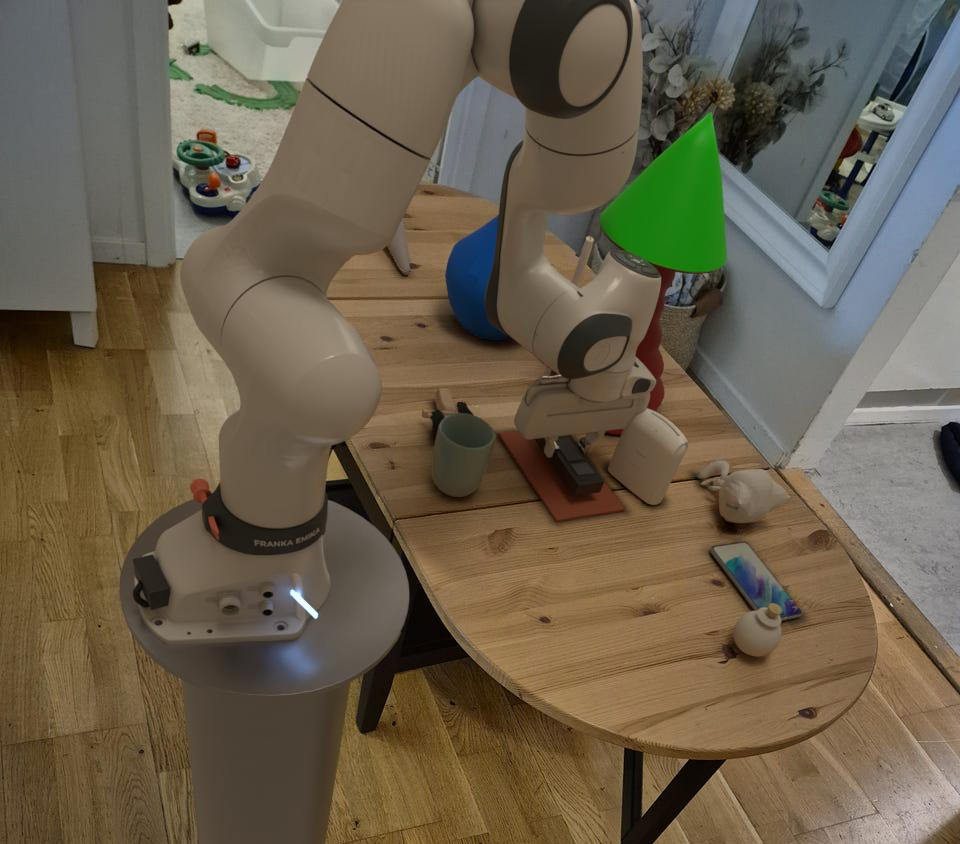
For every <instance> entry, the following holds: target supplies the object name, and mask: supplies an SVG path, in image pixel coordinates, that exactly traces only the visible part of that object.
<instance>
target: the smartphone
mask: <svg viewBox="0 0 960 844" xmlns="http://www.w3.org/2000/svg"><path fill="white" fill-rule="evenodd" d="M709 553H710V554H711V555H712V556H713V558H714V559H715V561H716V562H717V563H718V564H719V566H720V567H721V569H722V570H723V571H724V573H726V575H727V576H728V578H729V579H730V580H731V581H732V583H733V584H734V585H735V587H736V589H738V591H739V592H740V594H741V596H742V597H743V598H744V599H745V600H746V602H747V603H748V604H749V605H750V607H751V608H752V610H753V611H758V609H760V608H762V607H766V608H768V607H769V604H771V603H775V604H777V605H779V606H780V607H781V608H782V613H780V614H779V616H780V618H781V622H784V621H789V620H793V619H797V618H798V619H799V618H800V617H801V616H802V615H803V610H802V609H801V607H800V608H797V609H796V608H792V607H795V606H798V604H797V603H796V601H793V602H792V601H790V600H793V599H794V598H792V597H791V595H790V594H789V593H788V591H787V590H786V589H785V588H784V587H783V586H782V584H781V583H780V582H779V580H778V579H777V578H776V576H774V573H772V572H771V570H770V569H769V568H768V566H766V564H765V563H764V561H763V560H762V559H761V558H760V557H759V555H758V554H757V553H756V552H755V550H754V549H753V548H752V546H750V544H749V543H748V542H747V541H736V542H729V543H724V544H716V545H712V546H711V547H710V548H709ZM791 602H792V603H791ZM795 609H796V610H795ZM786 616H787V617H786ZM785 617H786V619H785V620H784V619H782V618H785Z"/></svg>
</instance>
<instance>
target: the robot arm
mask: <svg viewBox="0 0 960 844" xmlns="http://www.w3.org/2000/svg"><path fill="white" fill-rule="evenodd" d="M642 34H643V33H642V21H641V15H640V11H639V7H638V5H637V4H636V2H635V0H342V1H341V3H340V4H339V6H338V8H337V10H336V12H335V14H334V16H333V17H332V20H331V22H330V24H329V25H328V28H327V29H326V31H325V34H324V35H323V37H322V40H321V42H320V44H319V46H318V49H317V51H316V53H315V55H314V58H313V60H312V62H311V65H310V67H309V70H308V72H307V74H306V78H305V80H304V82H303V85H302V88H301V89H300V93H299V95H298V98H297V100H296V104H295V106H294V108H293V111H292V114H291V116H290V118H289V121H288V123H287V125H286V128H285V130H284V133H283V136H282V138H281V141H280V143H279V145H278V148H277V150H276V152H275V155H274V157H273V160H272V162H271V164H270V166H269V168H268V170H267V172H266V173H265V175H264V177H263V179H262V181H261V182H260V184H259V185H258V187H257V188H256V190H255V192H254V193H253V194H252V196H251V197H250V198H249V199H248V201H247V202H246V203H245V205H244V206H243V207H242V208H241V210H239V212H238V213H237V214H236V215H235V216H234V217H233V218H232V219H231V220H230V221H229V222H228V223H226V224H222V225H218V226H216V227H212V228H210V229H208V230H206V231H204V232H203V233H201V234H200V235H199V236H198V237H197V238H195V239H194V241H193V242H192V243H191V244H190V246H189V247H188V248H187V250H186V252H185V254H184V256H183V258H182V262H181V265H180V272H179V273H180V274H179V279H180V286H181V290H182V293H183V295H184V298H185V301H186V304H187V306H188V309H189V311H190V313H191V316H192V318H193V320H194V323H195V325H196V327H197V328H198V330H199V331H200V333H201V334H202V335H203V336H204V338H205V339H206V341H208V343H209V344H210V345H211V347H212V348H213V350H215V352H216V353H217V354H218V356H219V357H220V358H221V359H222V361H223V362H224V364H225V365H226V368H227V369H228V370H229V372H230V373H231V375H232V378H233V380H234V383H235V385H236V387H237V391H238V395H239V401H240V402H239V403H240V406H239V409H238V410H236V411H234V412H233V413H232V414H231V415H229V416H228V417H227V418H226V419H225V420H224V422H223V423H222V425H221V427H220V430H219V432H218V456H219V457H218V459H219V482H218V484H217V486H216V488H215V490H214V491H211V489H210V484H209V482H208V481H207V480H206V479H205V478H196V479H194V480H192V482H190V484H189V485H190V486H189V489H190V492H191V493H192V498H193V499H194V500H195V501H196V502H198V503H202V510H200V511H198V512H197V513H195V514H193V515H192V516H190V517H188V518H187V519H185V520H183V521H182V522H180V523H178V524H176V525H175V526H173V527H171V528H169V529H167V530H166V531H164V532H163V533H162V535H161V536H160V538H159V539H158V542H157V545H156V548H155V551H154V552H150V553H147V554H145V555H143V556H142V557H139V558H135V559H133V565H134V571H135V576H134V590H133V598H134V600H135V601H136V602H137V605H138V608H139V611H140V614H141V617H142V619H143V621H144V623H145V624H146V626H147V628H148V629H149V630H150V632H151V633H152V634H153V635H154V636H155V637H156V638H157V639H159V640H160V641H161V642H163V643H164V644H167V645H191V644H212V643H232V642H253V641H274V640H292V639H296V638H298V637H299V636H300V635H301V634H302V632H303V630H304V628H305V625H306V622H307V620H308V619H309V618H310V617H311V616H313V617H314V618H317V617H318V613H317V612H316V611H318V610H319V609H320V608H321V606H322V605H323V604H324V602H325V601H326V599H327V597H328V595H329V591H330V576H329V573H328V570H327V567H326V563H325V558H324V550H323V535H324V534H325V531H326V523H327V520H328V500H329V496H328V493H327V492H326V486H327V477H328V469H329V462H330V461H329V460H330V453H331V448H332V446H335V445H339V444H342V443H343V442H346V441H348V440H350V439H351V438H353V437H354V436H356V435H357V434H359V433H360V432H361V431H362V430H363V429H364V428H365V427H366V426H367V424H368V423H369V422H370V421H371V419H373V416H374V415H375V414H376V411H377V409H378V406H379V404H380V401H381V398H382V391H383V382H382V377H381V373H380V371H379V368H378V366H377V365H376V362H375V360H374V358H373V356H372V354H371V352H370V351H369V349H368V347H367V345H366V343H365V341H364V339H363V338H362V336H361V335H360V333H359V331H358V330H357V328H356V327H354V325H353V324H352V323H351V322H350V321H349V320H348V319H347V318H346V317H345V315H343V313H342V312H341V311H340V310H339V309H338V308H337V307H336V306H335V305H334V304H333V303H332V302H331V301H330V300H329V298H328V297H327V294H328V289H329V287H330V284H331V282H332V280H333V279H334V278H335V276H336V275H337V274H338V272H339V271H341V269H342V268H343V267H344V266H345V264H346V263H348V262H349V261H350V260H351V259H352V258H353V257H355V256H366V255H367V256H368V255H372V254H373V255H374V254H376V253H378V252H380V251H383V250H384V249H385V248H387V247H386V246H387V245H388V244H389V243H390V242H391V241H392V239H393V238H394V236H395V233H396V231H397V229H398V227H399V225H400V223H401V221H402V219H403V220H404V217H405V215H406V212H407V211H408V208H409V206H410V204H411V202H412V200H413V198H414V196H415V194H416V193H417V190H418V188H419V186H420V183H421V181H422V180H423V177H424V175H425V174H426V171H427V169H428V167H429V165H430V163H431V161H432V158H433V156H434V154H435V152H436V150H437V148H438V145H439V143H440V142H441V139H442V137H443V134H444V131H445V129H446V127H447V124H448V122H449V119H450V117H451V114H452V112H453V109H454V105H455V102H456V100H457V98H458V96H459V95H461V92H462V91H463V90H464V89H465V88H466V87H468V85H470V84H471V83H472V81H474V80H475V79H477V78H478V77H479V78H480V79H482V80H483V81H485V82H486V83H487V84H489V85H490V86H492V87H494V88H496V89H497V90H500V92H503V93H504V94H506V95H508V96H511V97H512V98H514V99H515V100H518V101H519V102H520V103H521V105H522V106H524V136H523V139H522V140H521V141H520V142H519V143H518V144H517V145H516V146H515V147H514V148H513V150H512V151H511V153H510V155H509V157H508V160H507V163H506V166H505V168H504V172H503V173H504V174H503V176H502V177H503V178H502V184H501V191H500V198H499V208H498V215H499V216H498V215H497V216H498V226H497V236H496V245H495V255H494V262H493V268H492V271H491V274H490V277H489V280H488V284H487V287H486V293H485V310H486V315H487V318H488V320H489V322H490V323H491V324H492V325H493V326H494V327H495V328H497V329H498V330H500V331H501V332H503V333H504V334H506V335H507V336H509V337H511V338H510V339H513V340H514V341H516V343H518V344H519V345H520V346H522V347H523V348H524V349H525V350H526V351H528V352H529V353H530V354H531V355H532V356H534V357H535V358H537V359H538V360H540V361H541V362H542V363H543V364H545V365H546V366H547V367H548V368H550V370H552V371H555V372H556V373H558V374H559V375H554V376H550V375H541V376H539V377H538V379H535V380H534V381H532V382H531V383H529V384H528V385H527V387H526V389H525V392H524V395H523V396H522V399H521V401H520V403H519V406H518V408H517V410H516V412H515V416H514V419H513V423H514V426H515V428H516V430H517V431H519V432H520V434H521V435H522V436H523V437H524V438H525V439H527V440H529V439H538V438H545V441H546V445H545V448H544V453H545V454H546V456H547V457H548V458H550V457H556V456H558V452H559V451H560V447H559V446H558V445H557V443H556V442H555V441H556V440H558V437H559V436H564V435H571V436H572V435H583V434H586V435H585V436H584V437H583V436H582V437H580V438H579V440H578V443H577V444H578V446H579V447H580V449H581V450H582V451H583V453H584V454H588V453H590V454H591V452H592V450H593V448H594V445H596V444H597V442H599V441H600V440H601V439H602V438H603V437H604V436H605V434H606V433H605V431H608V430H617V429H626V428H628V426H629V424H630V422H631V421H632V419H633V418H634V417H635V416H636V415H638V414H641V413H643V412H644V411H646V408H647V406H648V403H649V400H650V392H651V391H652V390H653V388H654V387H655V385H656V379H655V378H654V376H653V375H652V374H651V372H650V371H649V370H648V369H647V367H646V366H645V365H644V364H643V363H642V362H641V361H640V360H639V359H638V358H637V357H636V350H637V347H638V345H639V344H640V343H641V341H642V340H643V339H644V337H645V335H646V333H647V330H648V328H649V325H650V322H651V320H652V317H653V314H654V311H655V308H656V304H657V301H658V297H659V293H660V287H661V275H660V273H659V272H658V270H657V269H656V268H655V267H654V266H653V265H652V264H650V263H649V262H647V261H646V260H645V259H643V258H641V257H640V256H637V255H635V254H633V253H631V252H628V251H624V250H621V249H612V250H610V251H608V253H607V254H606V255H605V257H604V259H603V260H602V262H601V265H600V267H599V268H598V271H597V273H596V275H595V277H594V278H593V279H591V281H589V282H588V283H587V284H585V285H583V286H582V287H581V286H580V287H581V288H579V287H577V286H576V285H575V284H573V283H572V280H570V279H568V278H567V277H566V276H564V275H562V274H561V273H560V272H559V271H558V270H557V269H556V268H555V267H554V266H553V265H552V264H551V262H550V261H549V259H548V258H547V256H546V255H545V252H544V244H545V238H546V233H547V226H548V222H549V216H550V214H552V215H555V216H562V217H563V216H568V217H569V216H575V215H581V214H585V213H588V212H591V211H594V210H596V209H599V208H600V207H602V206H604V205H605V204H606V203H608V202H610V201H611V200H612V199H613V198H615V196H616V195H617V194H618V193H619V192H620V191H621V190H622V188H623V187H624V186H625V184H627V181H628V180H629V177H630V175H631V172H632V169H633V166H634V163H635V159H636V154H637V148H638V141H639V132H640V122H641V112H642V103H643V87H644V86H643V84H644V81H643V80H644V55H643V51H644V50H643V35H642ZM554 440H555V441H554ZM157 624H162V625H160V626H157ZM278 629H283V630H282V631H280V630H278Z"/></svg>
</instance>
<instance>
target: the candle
mask: <svg viewBox="0 0 960 844" xmlns="http://www.w3.org/2000/svg"><path fill="white" fill-rule="evenodd" d="M594 241H595V239H594V237H592V236H591V235H588V236H586V237H585V240H584V243H583V245H582V248H581V252H580V254H579V257H578V261H577V264H576V266H575V271H574V273H573V277H572V280H571V282H572V283H573V284H575V285H576V286H577V287H579V288H581V285H582V282H583V279H584V278H583V277H584V274H585V272H586V268H587V265H588V262H589V258H590V255H591V252H592V250H593V246H594Z"/></svg>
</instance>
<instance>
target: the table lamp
mask: <svg viewBox="0 0 960 844" xmlns="http://www.w3.org/2000/svg"><path fill="white" fill-rule="evenodd" d="M723 189H724V188H723V176H722V168H721V163H720V155H719V148H718V142H717V136H716V130H715V125H714V119H713V113H712V111H710V112H709V113H708V114H706V115H705V116H703V118H702V119H700V120H699V121H697V123H696V124H694V125H693V126H692V127H691V128H689V129H688V130H687V131H686V132H684V133H683V134H682V135H680V136H679V137H678V138H677V139H676V140H675V141H674V142H673V143H672V144H671V145H669V146H668V147H667V148H665V150H664V151H663V152H661V154H659V155H658V156H657V157H655V159H653V161H652V162H651V163H650V164H649V165H648V166H647V167H646V168H645V169H644V170H643V171H642V172H641V173H640V174H639V175H638V176H637V177H636V178H635V179H634V180H633V181H632V182H631V183H630V184H629V185H628V186H627V187H626V188H625V189H624V190H623V191H622V192H620V194H619V195H618V196H617V197H616V198H615V199H613V201H612V202H610V204H609V205H608V206H607V207H606V208H605V209H604V210H603V211H602V212H601V213H600V216H599V220H598V221H599V228H600V229H601V231H602V233H603V235H604V236H605V237H606V238H607V239H608V241H610V242H611V243H612V244H613V245H614V246H615V247H617V249H618V250H624V251H628V252H631V253H633V254H635V255H637V256H640V257H641V258H643V259H645V260H646V261H647V262H649V263H650V264H652V265H653V266H654V267H655V268H656V269H657V270H658V272H659V273H660V275H661V287H660V293H659V297H658V301H657V304H656V308H655V311H654V314H653V317H652V320H651V322H650V325H649V328H648V330H647V333H646V335H645V337H644V339H643V340H642V341H641V343H640V344H639V345H638V347H637V350H636V357H637V358H638V359H639V360H640V361H641V362H642V363H643V364H644V365H645V366H646V367H647V369H648V370H649V371H650V372H651V374H652V375H653V376H654V378H655V379H656V385H655V387H654V388H653V390H652V391H651V392H650V400H649V403H648V406H647V408H648V409H651V410H653V411H655V412H657V413H658V409H659V407H661V404H662V402H663V401H664V399H665V387H664V382H663V380H662V374H663V373H664V367H665V363H664V359H663V355H662V353H661V350H660V349H659V348H660V345H661V344H662V339H663V332H662V328H661V324H660V318H661V316H662V314H663V313H664V309H665V304H666V303H665V302H666V293H667V291H668V290H669V288H670V286H671V285H672V284H673V282H674V281H675V279H676V278H675V277H676V273H681V274H688V275H704V274H711V273H714V272H716V271H719V270H720V269H721V268H722V267H724V266H725V265H726V263H727V260H728V257H727V256H728V252H727V236H726V222H725V220H726V219H725V206H724V204H725V203H724V192H723ZM554 375H559V374H558V373H556V372H555V371H554V370H552V372H550V374H549V376H554ZM622 432H623V429H617V430H608V431H605V434H609V435H617V436H618V435H619V436H621V434H622Z"/></svg>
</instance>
